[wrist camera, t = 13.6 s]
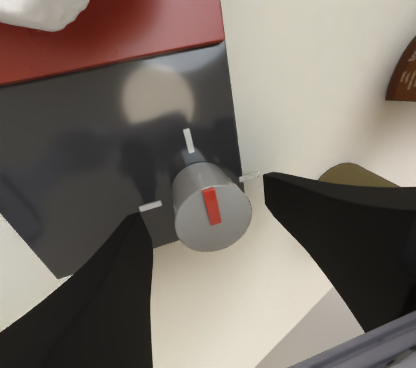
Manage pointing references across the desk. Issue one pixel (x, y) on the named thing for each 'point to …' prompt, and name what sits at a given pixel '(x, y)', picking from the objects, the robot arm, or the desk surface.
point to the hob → (111, 149)
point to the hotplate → (109, 37)
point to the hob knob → (208, 208)
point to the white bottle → (41, 13)
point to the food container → (404, 77)
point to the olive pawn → (354, 176)
